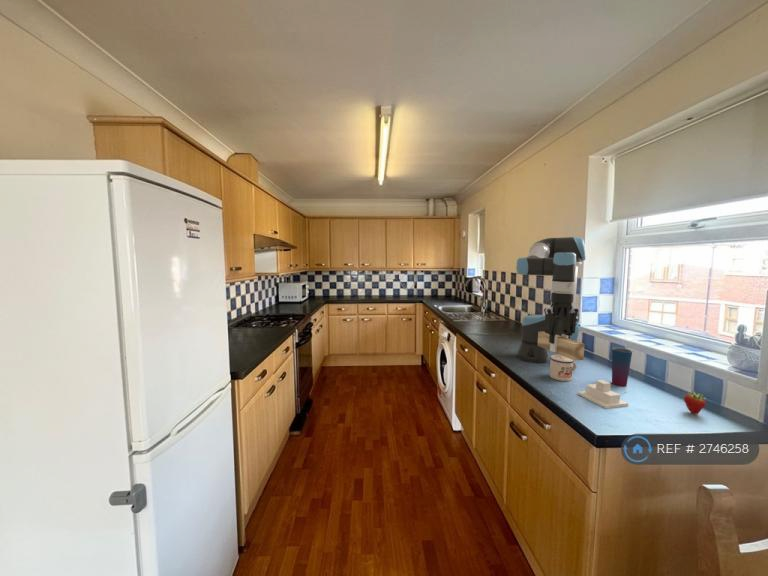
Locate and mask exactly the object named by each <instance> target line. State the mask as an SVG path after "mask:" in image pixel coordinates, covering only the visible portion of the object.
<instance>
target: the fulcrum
mask: <svg viewBox="0 0 768 576" xmlns="http://www.w3.org/2000/svg"><path fill="white" fill-rule="evenodd" d="M611 384H612V382H609V381H606V380H604V379H600V380H599V379H598V380H596V382H595V383H592V384H586V386H585V387H586V388H585V389H586V390H583V391H582V390H581V391H577V395H579V396H581V397H582V398H584V399H586V400H588V401H590V402H592V403H594V404H596V405H598V406H600V407H602V408H603V409H612V408H613V409H614V408H623V407H628V406H629V402H627V401H624V400H622V399H621V395H620V394H619V393H617V392H615V391H613V390H611Z"/></svg>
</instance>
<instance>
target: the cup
mask: <svg viewBox="0 0 768 576" xmlns="http://www.w3.org/2000/svg"><path fill="white" fill-rule="evenodd" d="M611 350H612V351H611V384H612V385H614V386H617V387H621V388H623V387H627V386H628V379H629V373H630V369H631V362H632V356H633V350H631V349H629V348H624V347H612V349H611Z"/></svg>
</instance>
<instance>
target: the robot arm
mask: <svg viewBox="0 0 768 576" xmlns="http://www.w3.org/2000/svg"><path fill="white" fill-rule="evenodd" d="M585 247H586V245H585V241H584V238H583V237H574V236H572V237H571V236H570V237H566V236H565V237H546V238H543V239H541V240H539V241H536V242H535V243H533V244H532V245H531V246H530V247H529V251H528V254H527V256H526V257H519V258H517V260H516V273H517V274H518V275H524V276H550V277H552V281H551V291H552V292H551V295H550V296H551V297H550V301H551V305H550V307H548V308H544V309H543V312H544V314H529V315H525V316H523V318H522V322H521V335H520V336H521V339H520V344H519V347H518V350H517V352H516V358H518V359H519V360H521V361H525V362H531V363H545V362H548V360H549V355H548V350H547V349H545V348H542V347H540V346H538V332H545V333H547V334H549V343H550V352H552V353H554V352H556V351H557V336H556V335H559V336H562V337H565V338H568V339H571V340H574V341H577V342H578V339H579V334H580V330H581V325H582V322H581V321H579V317H578V316H577V315H578V313H579V309H578V308H576V300H577V289H578V288H577V285H578V284H577V283H578V274H579V273H578V272H579V271H578V270H579V267H580V266H581V265H582V263H583V261H585V260H586V248H585Z"/></svg>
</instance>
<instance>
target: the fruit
mask: <svg viewBox="0 0 768 576" xmlns="http://www.w3.org/2000/svg"><path fill="white" fill-rule="evenodd" d="M703 396H704V394H703V393H702V394H701V392H698V393H696V391H695V390H692V391H691V392H687V394H686V395H685V396H684V398H683V400H684V403H685V406H686V408H687V410H688V411H689V412H690V413H691V414H694V415H698V414H700V412H701V411H702V409H703V408H704V407H706V404H707V402H706V399H707V398H706V397H703Z"/></svg>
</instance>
